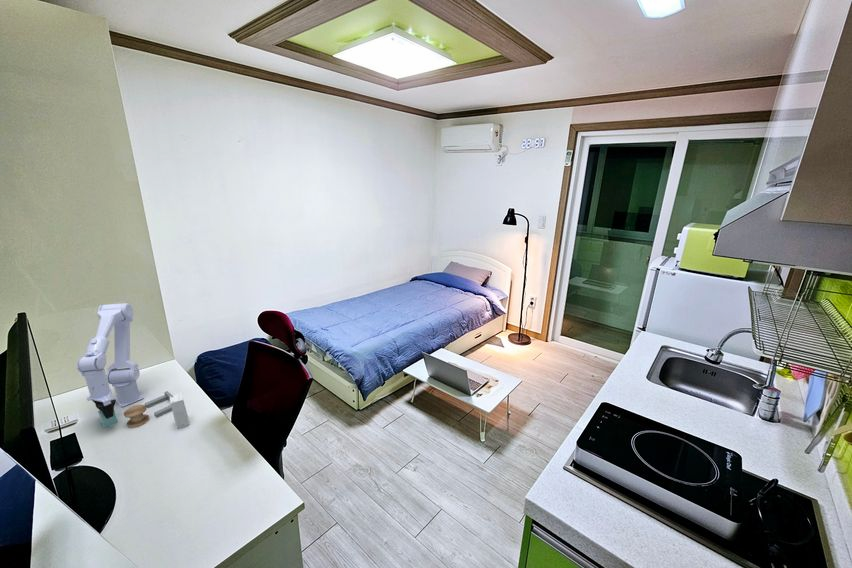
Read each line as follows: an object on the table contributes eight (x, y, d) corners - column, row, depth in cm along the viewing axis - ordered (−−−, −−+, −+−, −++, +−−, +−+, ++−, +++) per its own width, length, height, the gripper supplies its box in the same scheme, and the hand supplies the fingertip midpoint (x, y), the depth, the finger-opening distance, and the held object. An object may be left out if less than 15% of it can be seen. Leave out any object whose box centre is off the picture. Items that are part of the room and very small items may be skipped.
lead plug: (101, 424, 138) (97, 410, 136) (114, 418, 141) (110, 405, 139) (104, 428, 136) (100, 414, 134) (117, 422, 139) (113, 408, 137)
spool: (124, 422, 139) (121, 411, 137) (145, 413, 144) (142, 402, 142) (130, 430, 135) (127, 418, 133) (152, 420, 140) (149, 408, 139)
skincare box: (189, 424, 139) (184, 399, 135) (176, 429, 136) (170, 403, 132) (188, 416, 143) (182, 392, 139) (174, 421, 140) (169, 396, 137)
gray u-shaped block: (145, 406, 149) (143, 400, 148) (168, 396, 155) (167, 390, 155) (156, 417, 142) (155, 411, 141) (180, 406, 149) (179, 401, 148)
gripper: (78, 382, 133) (87, 411, 137) (89, 395, 126) (98, 426, 130) (102, 374, 139) (110, 402, 143) (114, 386, 131) (122, 416, 135)
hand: (106, 413), depth 137 cm, fingers open, 7 cm apart
